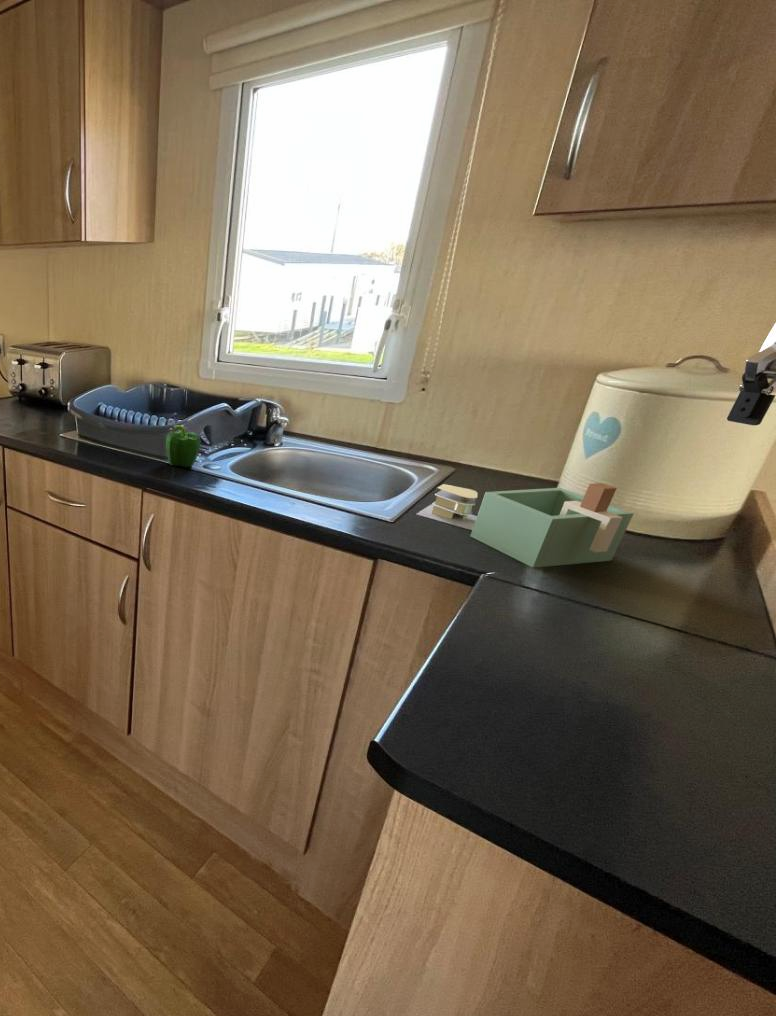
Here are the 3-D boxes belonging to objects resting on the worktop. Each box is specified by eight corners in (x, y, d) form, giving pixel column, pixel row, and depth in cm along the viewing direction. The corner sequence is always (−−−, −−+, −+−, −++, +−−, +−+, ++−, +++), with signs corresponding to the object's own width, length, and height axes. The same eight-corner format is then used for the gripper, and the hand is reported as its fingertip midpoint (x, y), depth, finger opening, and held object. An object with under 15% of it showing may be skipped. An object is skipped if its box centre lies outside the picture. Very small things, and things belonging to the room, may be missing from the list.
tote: (542, 530, 105) (559, 487, 101) (611, 560, 94) (634, 513, 90) (469, 536, 102) (485, 491, 98) (532, 567, 91) (552, 519, 87)
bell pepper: (200, 462, 140) (204, 423, 136) (194, 471, 133) (199, 431, 129) (168, 458, 143) (171, 420, 139) (161, 467, 136) (164, 427, 132)
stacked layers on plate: (415, 514, 111) (423, 488, 109) (431, 504, 116) (439, 479, 114) (472, 530, 104) (481, 503, 102) (486, 518, 110) (495, 493, 107)
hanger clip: (562, 532, 95) (585, 478, 91) (607, 551, 88) (634, 493, 84) (551, 533, 94) (574, 478, 90) (595, 552, 88) (621, 494, 84)
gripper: (837, 282, 62) (757, 430, 69) (941, 286, 66) (855, 427, 72) (751, 282, 69) (687, 417, 76) (849, 285, 72) (779, 414, 79)
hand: (769, 422), depth 74 cm, fingers open, 9 cm apart
